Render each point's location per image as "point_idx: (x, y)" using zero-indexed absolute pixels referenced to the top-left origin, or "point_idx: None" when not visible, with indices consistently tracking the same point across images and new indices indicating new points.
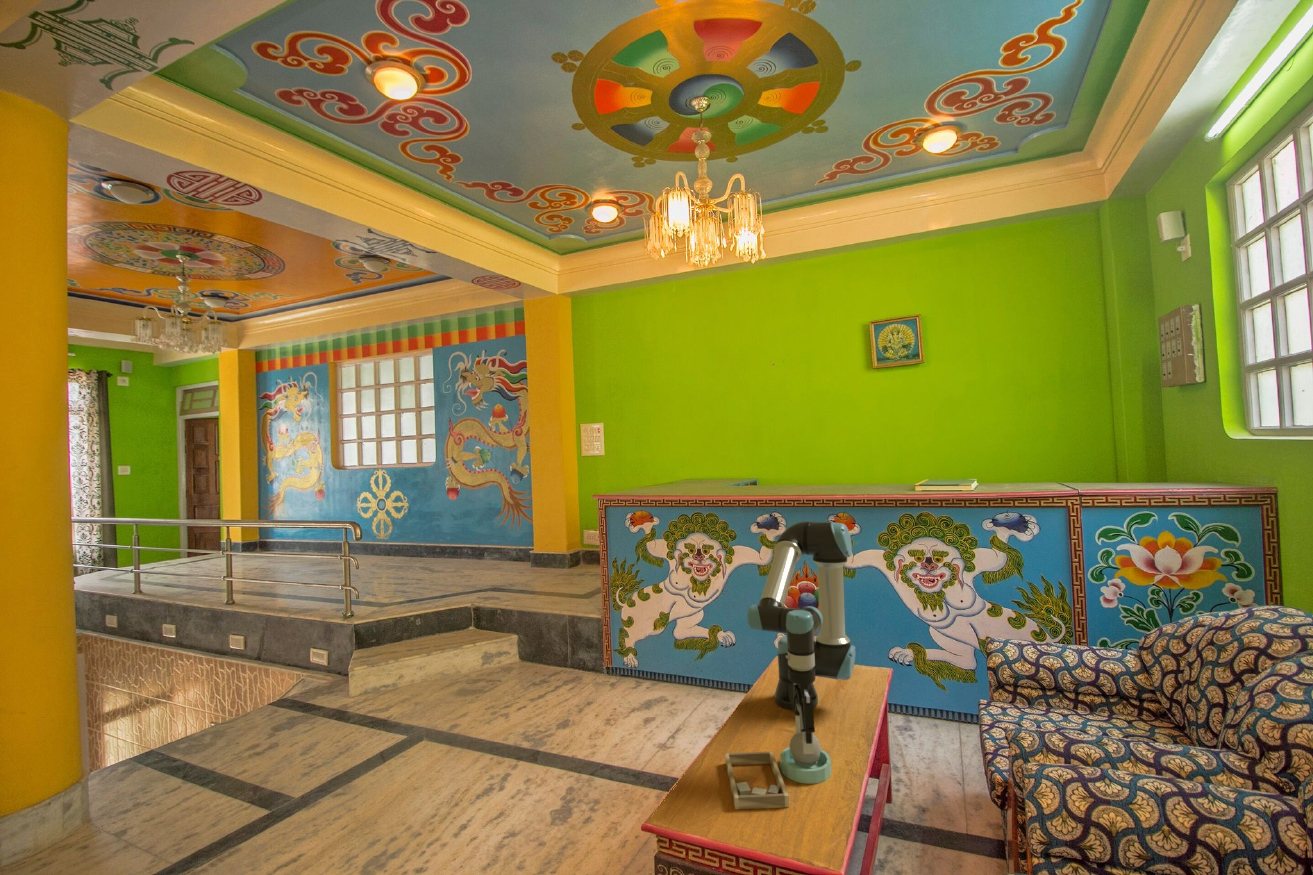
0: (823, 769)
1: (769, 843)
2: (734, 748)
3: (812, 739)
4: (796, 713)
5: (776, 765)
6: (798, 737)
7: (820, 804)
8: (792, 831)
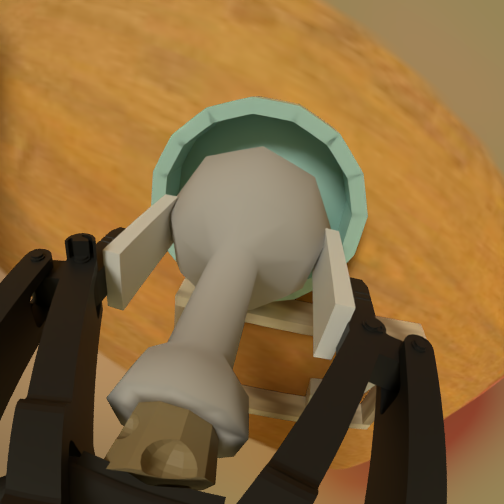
0: (363, 179)
1: (476, 382)
2: (113, 332)
3: (346, 273)
4: (102, 308)
5: (268, 320)
6: (252, 299)
7: (453, 245)
8: (482, 343)
